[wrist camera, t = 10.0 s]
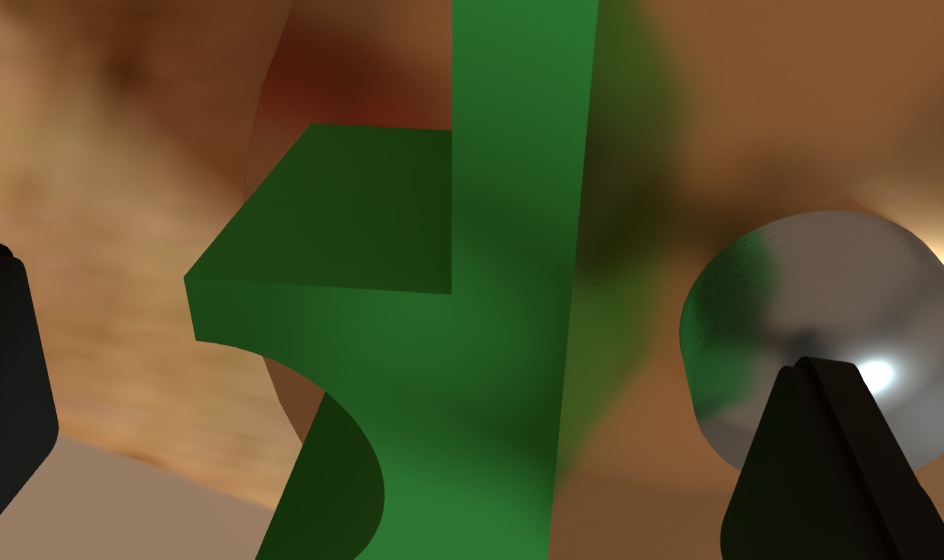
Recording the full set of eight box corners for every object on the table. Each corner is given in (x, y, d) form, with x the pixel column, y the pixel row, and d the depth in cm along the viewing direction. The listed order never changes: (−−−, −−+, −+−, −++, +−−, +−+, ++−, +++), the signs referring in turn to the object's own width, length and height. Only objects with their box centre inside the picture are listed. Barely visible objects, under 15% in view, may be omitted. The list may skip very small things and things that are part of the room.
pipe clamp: (291, -107, 10) (113, -63, 6) (588, -99, 10) (606, -47, 6) (346, 525, 16) (272, 764, 12) (537, 542, 15) (528, 792, 11)
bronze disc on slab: (859, -606, 13) (1379, -1347, 5) (1288, 171, 18) (1874, 459, 10) (211, 120, 20) (-26, 326, 12) (653, 518, 26) (696, 847, 18)
